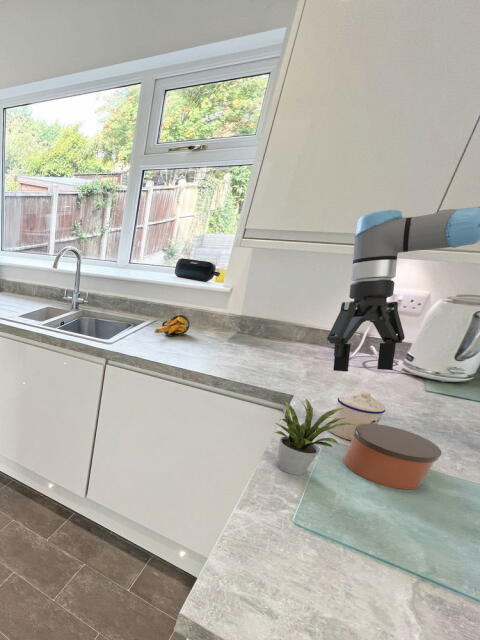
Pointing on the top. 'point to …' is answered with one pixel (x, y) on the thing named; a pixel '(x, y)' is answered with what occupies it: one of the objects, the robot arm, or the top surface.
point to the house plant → (302, 439)
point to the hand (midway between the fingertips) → (362, 370)
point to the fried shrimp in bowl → (175, 326)
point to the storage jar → (390, 456)
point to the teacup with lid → (356, 413)
